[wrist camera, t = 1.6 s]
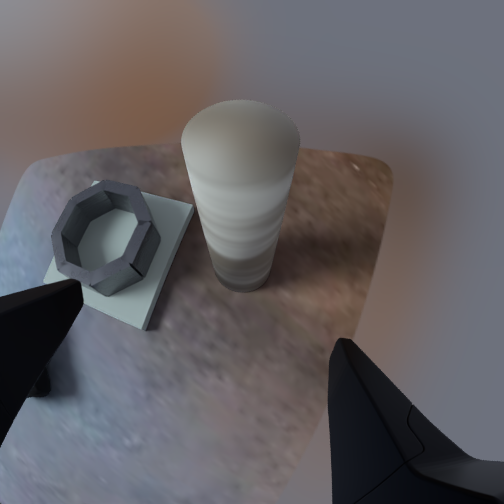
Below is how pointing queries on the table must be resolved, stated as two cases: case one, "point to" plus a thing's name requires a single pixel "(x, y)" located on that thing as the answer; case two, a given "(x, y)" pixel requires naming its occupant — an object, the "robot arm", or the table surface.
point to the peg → (241, 185)
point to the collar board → (113, 246)
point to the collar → (77, 221)
